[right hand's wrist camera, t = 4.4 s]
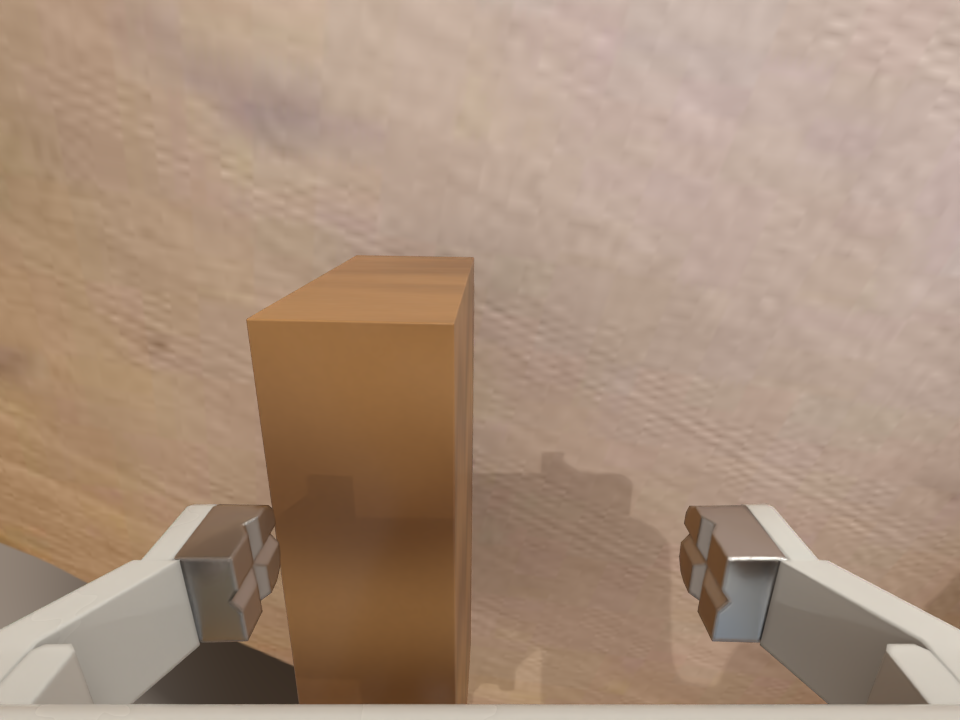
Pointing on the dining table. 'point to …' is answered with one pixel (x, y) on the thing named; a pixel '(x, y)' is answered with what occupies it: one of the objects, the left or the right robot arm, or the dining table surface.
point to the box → (373, 475)
